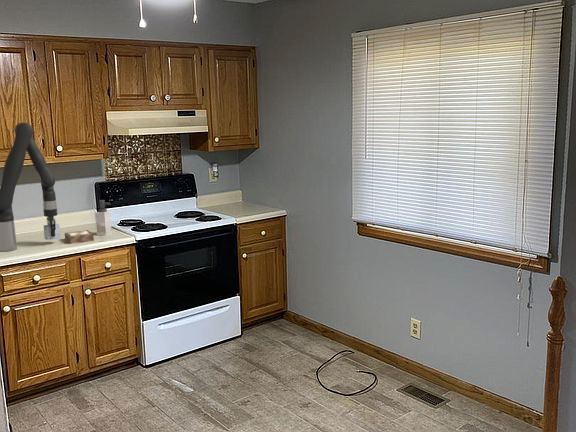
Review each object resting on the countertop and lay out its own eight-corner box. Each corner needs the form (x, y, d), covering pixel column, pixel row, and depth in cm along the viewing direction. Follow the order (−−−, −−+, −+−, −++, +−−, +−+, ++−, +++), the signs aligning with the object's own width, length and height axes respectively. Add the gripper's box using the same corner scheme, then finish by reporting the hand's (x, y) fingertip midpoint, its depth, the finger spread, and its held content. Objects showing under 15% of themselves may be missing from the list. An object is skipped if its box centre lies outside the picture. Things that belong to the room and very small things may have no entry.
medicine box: (56, 237, 353) (55, 223, 351) (60, 238, 350) (59, 224, 349) (44, 239, 347) (43, 225, 345) (48, 240, 344) (47, 226, 343)
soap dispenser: (109, 235, 367) (106, 201, 363) (97, 235, 370) (94, 201, 365) (115, 233, 373) (112, 199, 369) (103, 232, 376) (100, 199, 371)
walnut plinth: (70, 243, 348) (69, 237, 347) (65, 239, 359) (64, 232, 359) (93, 240, 355) (93, 233, 354) (88, 236, 367) (87, 229, 366)
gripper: (41, 206, 349) (43, 234, 352) (45, 210, 337) (47, 238, 340) (54, 205, 353) (56, 232, 356) (59, 209, 341) (61, 237, 344)
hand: (52, 235), depth 348 cm, fingers closed on medicine box, 5 cm apart
